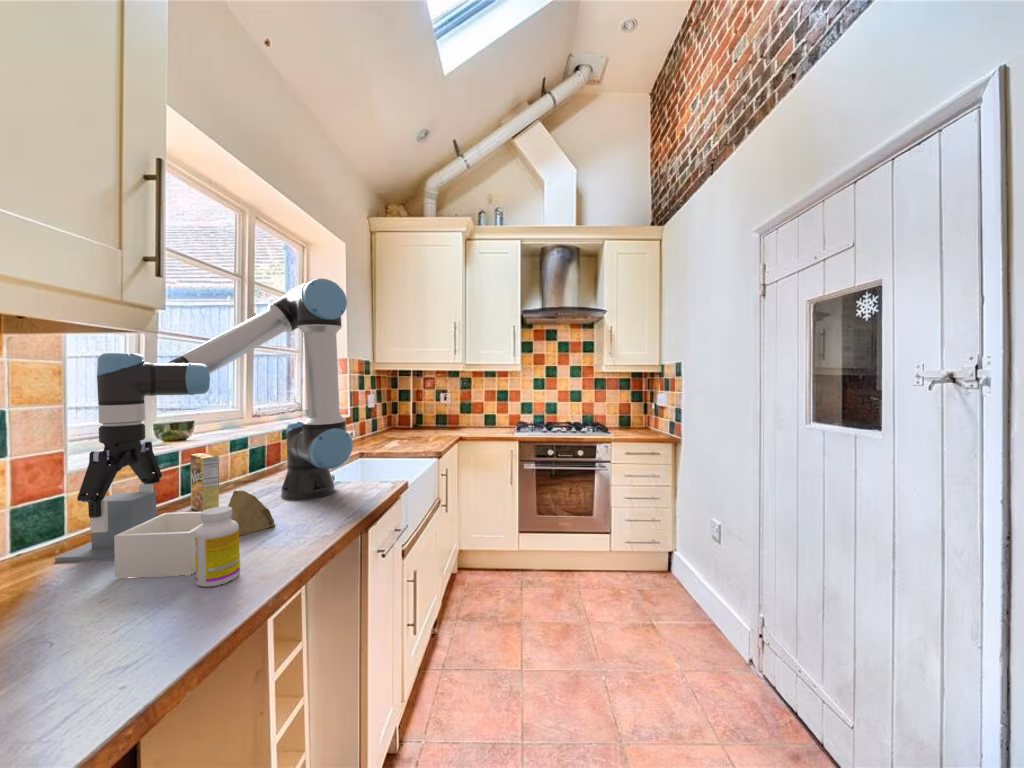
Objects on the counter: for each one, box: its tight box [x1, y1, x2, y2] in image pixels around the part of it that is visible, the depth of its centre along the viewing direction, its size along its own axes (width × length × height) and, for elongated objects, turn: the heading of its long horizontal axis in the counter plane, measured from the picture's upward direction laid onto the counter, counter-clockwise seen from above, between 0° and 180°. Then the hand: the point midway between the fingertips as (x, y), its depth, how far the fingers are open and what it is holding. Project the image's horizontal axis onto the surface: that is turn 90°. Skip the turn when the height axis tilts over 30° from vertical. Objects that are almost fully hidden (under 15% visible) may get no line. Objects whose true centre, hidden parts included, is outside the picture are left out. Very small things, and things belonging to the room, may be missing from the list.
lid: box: [54, 491, 157, 563], centre depth 93 cm, size 15×15×11 cm
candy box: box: [190, 452, 220, 512], centre depth 118 cm, size 9×4×15 cm, turn 55°
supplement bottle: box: [195, 506, 241, 588], centre depth 77 cm, size 7×7×13 cm
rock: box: [228, 490, 276, 537], centre depth 101 cm, size 11×9×10 cm
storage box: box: [114, 511, 203, 579], centre depth 85 cm, size 13×13×8 cm
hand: (124, 521), depth 93 cm, fingers open, 12 cm apart
